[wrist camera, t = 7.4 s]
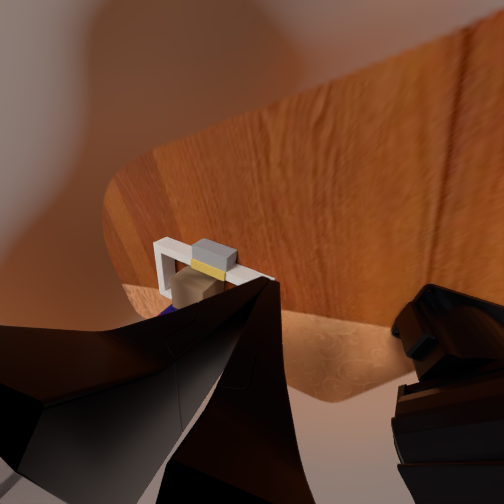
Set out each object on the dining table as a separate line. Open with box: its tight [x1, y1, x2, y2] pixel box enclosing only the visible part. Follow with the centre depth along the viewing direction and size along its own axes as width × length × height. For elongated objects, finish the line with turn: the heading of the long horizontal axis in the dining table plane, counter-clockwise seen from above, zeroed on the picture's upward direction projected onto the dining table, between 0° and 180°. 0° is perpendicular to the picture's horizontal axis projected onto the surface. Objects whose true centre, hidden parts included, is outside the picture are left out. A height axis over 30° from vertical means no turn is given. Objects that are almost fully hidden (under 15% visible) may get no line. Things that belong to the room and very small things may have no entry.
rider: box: [170, 265, 224, 309], centre depth 26 cm, size 5×5×5 cm
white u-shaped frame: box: [153, 237, 275, 300], centre depth 27 cm, size 17×13×3 cm
